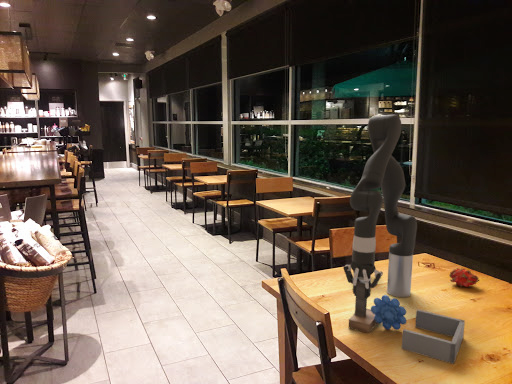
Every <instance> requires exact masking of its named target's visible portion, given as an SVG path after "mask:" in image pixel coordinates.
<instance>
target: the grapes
mask: <svg viewBox="0 0 512 384" xmlns="http://www.w3.org/2000/svg"><path fill="white" fill-rule="evenodd" d="M373 304H374V305H371V306H370V310H371V311H372V313H373V314H375V317H374V319H375V321H376V322H377V323H376V324H382V325H381V326H382V327H383V328H384V329H385V330H391V329H392V328H393V330H396V331H398V330H400V329H401V325H406V324H407V321H408V320H407V318H406V317H405V316H406V314H407V310H406V308H405V307H404V306H401V302H400V301H399V300H398V299H397V298H395V297H393V298H391V297H390V296H389V295H387V294H384V295H382V296H381V298H379V297H375V298H374V299H373Z"/></svg>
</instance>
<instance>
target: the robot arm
mask: <svg viewBox="0 0 512 384" xmlns="http://www.w3.org/2000/svg"><path fill="white" fill-rule="evenodd" d="M402 128H403V127H402V120H401V117H400V116H399V115H398V114H384V115H377V116H371V117H370V118H369V120H368V122H367V131H368V135H369V140H370V143H371V147H372V151H373V154H372V155H371V156H370V157H369V158H368V159H367V161H366V163H365V166H364V168H363V172H362V176H361V179H360V181H359V182H358V183H357V185H356V186H355V188H354V189H353V191H352V193H351V195H350V197H349V205H350V207H351V208H352V209H353V210H354V211H360V212H369V215H367V216H361V217H357V218H355V220H354V226H353V227H354V229H353V237H352V239H353V240H352V251H351V252H352V253H351V254H352V255H351V263H350V264H345V265H344V266H343V267H342V268H343V270H344V274H345V276H346V277H345V278H346V280H347V282H348V283H349V284H352V287H353V288H352V294H353V295H354V296H355V297H356V284H357V281H358V280H359V279H360V277H362V278H364V282H365V287H366V288H365V298H366V299H367V300H368V298H369V297H370V296H371V289H374V288H375V287H376V286H377V285H378V283H379V281H380V280H381V278H382V276H383V274H384V272H383V271H380V270H378V269H377V268H376V265H375V263H376V262H375V260H376V247H377V245H376V243H377V241H376V229H377V228H376V227H377V223H378V218H379V215H380V213H381V209H382V207H383V208H384V218H385V220H384V221H385V226H386V231H387V233H388V234H389V235H391V236H395V237H399V238H401V240H400V242H397V243H392V244H390V246H389V249H388V254H389V255H388V268H387V282H386V283H387V284H386V292H387V294H389V295H390V296H393V297H397V298H408V297H410V296H411V290H412V289H411V288H412V278H413V277H412V275H413V260H414V249H415V247H416V237H417V231H418V222H417V219H416V217H415V216H413V215H410V214H409V215H408V214H403V213H400V212H399V210H398V202H399V200H400V198H401V196H402V195H403V193H404V191H405V188H406V180H405V178H406V177H405V174H404V170H403V168H402V166H401V164H400V163H399V162H398V161H397V160H396V158H395V157H394V156H393V155H392V154H393V152H394V150H395V148H396V146H397V143H398V142H399V139H400V136H401V133H402ZM378 189H380V190H381V192H380V191H378ZM376 190H377V191H376ZM353 272H354V273H355V274H352V273H353ZM373 274H374V277H375V278H374V279H373V281H372V276H371V275H373Z"/></svg>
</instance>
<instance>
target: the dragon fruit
mask: <svg viewBox="0 0 512 384" xmlns="http://www.w3.org/2000/svg"><path fill="white" fill-rule="evenodd" d="M449 278H451V279H449V281H450V282H451V283H455V285H456V286H459V287H460V288H462V287H466V288H468V289H472V288H473V287H474V285H476V284H477V283H479V282H480V279H479V277H478V276H477V275H476V274H473V273H472V271H470V269H467V270H466V269H465V268H458V267H457V268H456V269H455V268H454V269H453V270H452V271H450V273H449Z"/></svg>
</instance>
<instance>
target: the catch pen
mask: <svg viewBox="0 0 512 384" xmlns="http://www.w3.org/2000/svg"><path fill="white" fill-rule="evenodd" d="M465 323H466V321H465V320H464V319H460V318H455V317H453V316H452V317H451V316H447V315H443V314H439V313H435V312H430V311H427V310H423V309H417V308H416V311H415V323H414V324H415V326H414V327H415V328H418V329H421V330H426V331H429V332H433V333H436V334H441V335H445V336H449V337H451V336H452V337H451V338H452V340H451V341H450V340H446V339H443V338H439V337H435V336H433V335H428V334H425V333H420V332H418V331H417V332H416V331H413V330H409V329H406V328H403V329H402V337H401V339H402V340H401V350H404V351H408V352H411V353H415V354H417V355H418V354H419V355H422V356H425V357H429V358H431V359H436V360H438V359H439V360H438V361H442V360H443V361H442V362H445V361H446V363H448V362H450V363H449V364H452V363H453V364H452V365H455V362H456V359H457V357H456V356H458V354H459V351H460V348H461V345H462V343H461V342H463V339H464V332H465ZM457 353H458V354H457Z"/></svg>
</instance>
